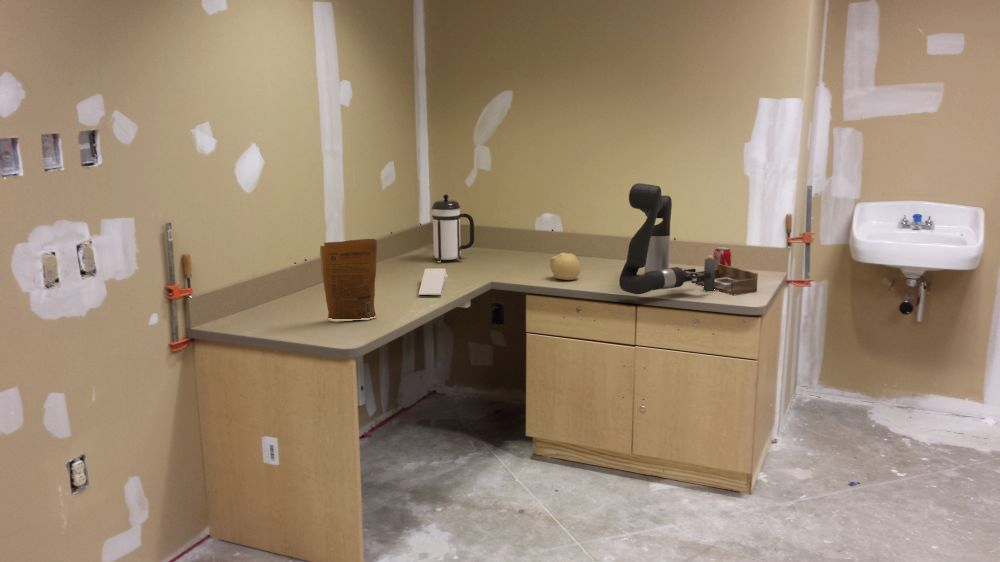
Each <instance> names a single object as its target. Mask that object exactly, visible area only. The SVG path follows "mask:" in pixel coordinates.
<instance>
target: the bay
mask: <svg viewBox="0 0 1000 562" xmlns="http://www.w3.org/2000/svg"><path fill="white" fill-rule="evenodd" d="M696 272H697V273H698V274H701V273H702V274H703V273H704V270H699V271H696ZM758 275H759V272H754V271H750V270H747V269H742V268H739V267H738V268H737V267H735V266H731V267H730V266H726V265H722V264H717V269H715V282H714V289H715V290H714V291H717V290H719V291H718V292H720V291H722V292H721V293H724V292H725V294H727V293H729V294H728V295H731V294H732V296H735V295H734V294H737V295H742V294H741V293H743V294H748V293H749V292H750V293H755V292H758V280H759V279H758V278H759V276H758ZM696 284H698V285H697V286H700V285H701V286H700V287H703V286H704V282H699V283H695V285H696ZM750 293H749V294H750Z"/></svg>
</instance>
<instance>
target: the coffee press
mask: <svg viewBox="0 0 1000 562" xmlns="http://www.w3.org/2000/svg"><path fill="white" fill-rule="evenodd" d="M460 211H461V205H460V202H459V201H457V200H454V199H449V195H448V194H447V193H445V194H444V195H443V199H438V200H435V201H434V202H433V203H432V205H431V208H430V210H429V212H428V214H431V219H432V227H433V228H432V230H433V231H432V232H433V235H432V236H433V256H432V258H433V257H434V258H437V259H436V260H437V261H440V260H443V261H449V260H456V259H459V261H460V260H461V259H462V257H461V250H466V249H470V248H471V247H472V246H473V245H474V242H475V223H474V218H473V216H471V215H470V214H468V213H461V212H460ZM461 218H466V219H468V222H469V242H468V243H467V244H464V245H462V244H461ZM437 261H436V262H437Z"/></svg>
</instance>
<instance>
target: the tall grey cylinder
mask: <svg viewBox="0 0 1000 562" xmlns="http://www.w3.org/2000/svg"><path fill="white" fill-rule="evenodd" d="M703 271H704V273H711V278H710V279H705V282H704V287H703V289H702V290H703V291H704V290H705V291H704V292H707V291H712V292H715V290H714V282H715V259H713V255H707V258H705V259H704V265H703Z"/></svg>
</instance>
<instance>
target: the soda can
mask: <svg viewBox="0 0 1000 562" xmlns="http://www.w3.org/2000/svg"><path fill="white" fill-rule="evenodd" d="M712 259H715V269H717V264H722V265H726V266H730V267H732V251H731V247H729V246H716V247H715V249H714V251H713V257H712Z"/></svg>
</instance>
